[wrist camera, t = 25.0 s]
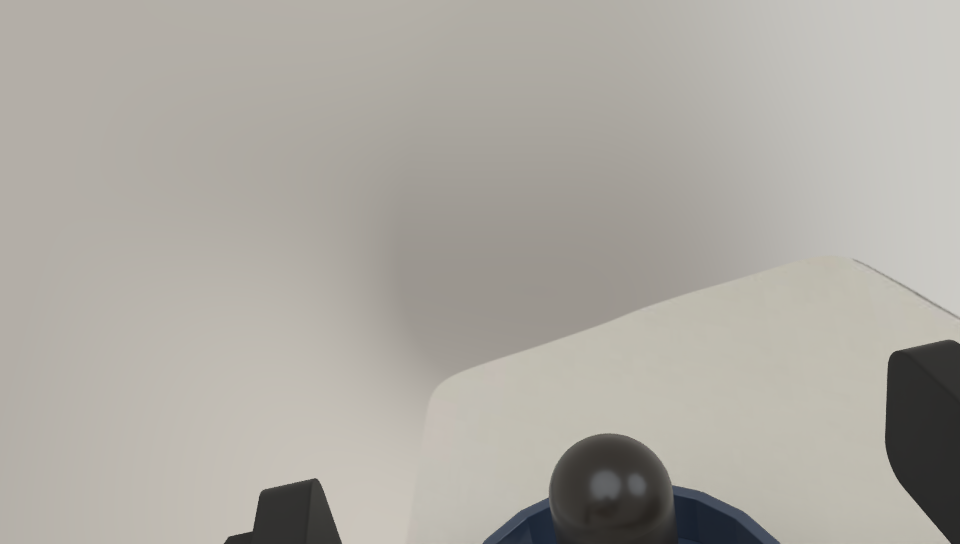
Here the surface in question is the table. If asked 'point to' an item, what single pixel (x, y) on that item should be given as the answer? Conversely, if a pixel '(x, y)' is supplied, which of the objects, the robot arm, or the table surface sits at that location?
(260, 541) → the robot arm
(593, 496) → the two-tone capsule
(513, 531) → the bowl
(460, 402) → the table surface
